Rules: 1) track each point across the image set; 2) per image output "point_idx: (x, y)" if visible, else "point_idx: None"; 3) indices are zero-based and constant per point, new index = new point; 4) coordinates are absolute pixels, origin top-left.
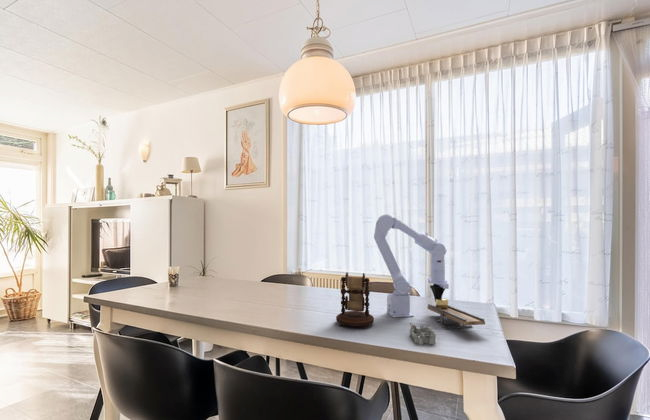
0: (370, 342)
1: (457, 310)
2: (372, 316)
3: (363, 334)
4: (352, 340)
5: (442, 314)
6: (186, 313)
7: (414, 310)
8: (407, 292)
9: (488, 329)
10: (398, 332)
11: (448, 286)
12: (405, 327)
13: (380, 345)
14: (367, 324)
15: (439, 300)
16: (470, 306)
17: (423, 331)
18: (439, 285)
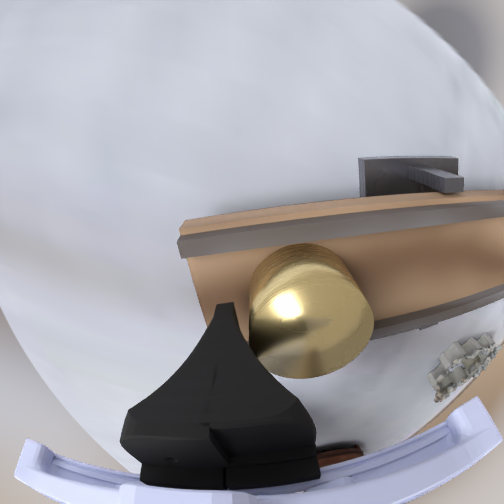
0: (424, 422)
1: (433, 222)
2: (325, 459)
3: (386, 438)
4: (404, 439)
5: (437, 322)
6: None
7: (137, 349)
8: (289, 493)
9: (468, 97)
10: (405, 401)
11: (489, 417)
12: (379, 394)
13: (441, 409)
14: (361, 450)
15: (349, 360)
16: (23, 14)
17: (443, 360)
18: (315, 485)
